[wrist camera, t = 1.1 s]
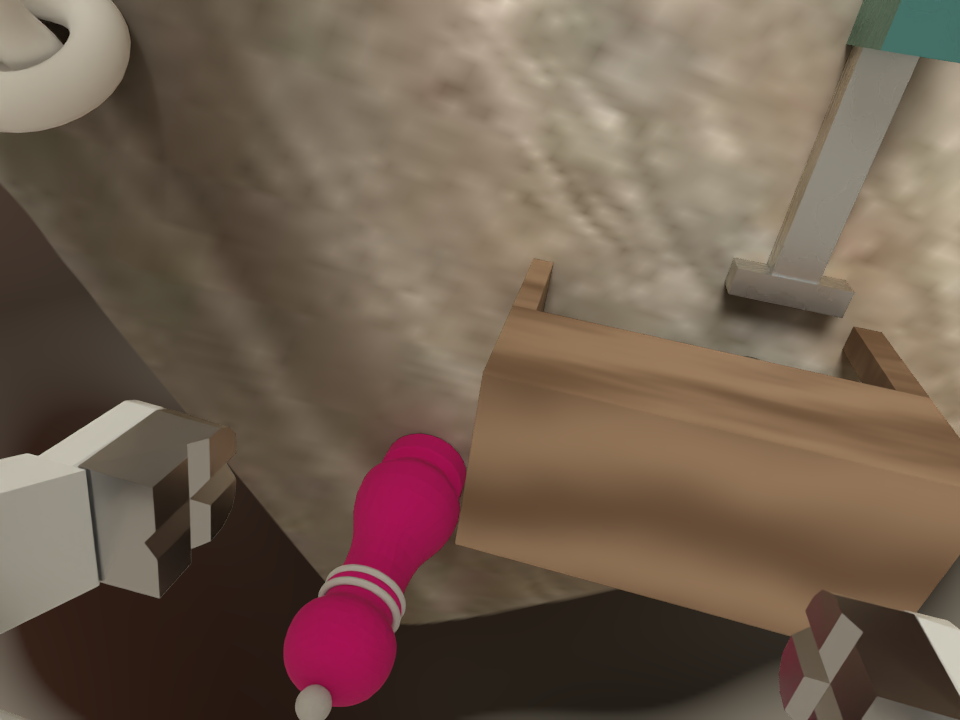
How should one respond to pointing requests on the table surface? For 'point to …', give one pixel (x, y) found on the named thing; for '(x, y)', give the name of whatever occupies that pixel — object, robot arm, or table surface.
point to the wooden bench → (709, 470)
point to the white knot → (58, 61)
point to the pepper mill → (374, 576)
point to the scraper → (847, 151)
